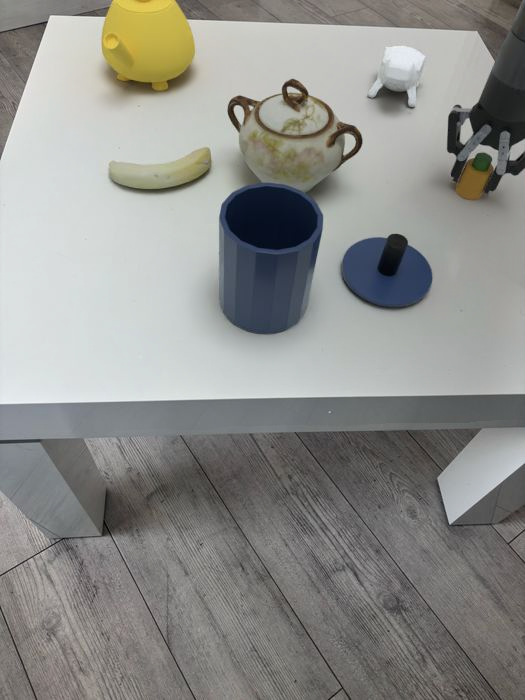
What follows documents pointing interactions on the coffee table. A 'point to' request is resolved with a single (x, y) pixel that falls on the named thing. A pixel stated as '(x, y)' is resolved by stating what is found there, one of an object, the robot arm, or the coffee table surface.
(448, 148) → the robot arm
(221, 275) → the pot
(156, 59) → the teapot
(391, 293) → the lid
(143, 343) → the coffee table surface
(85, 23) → the coffee table surface
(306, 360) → the coffee table surface
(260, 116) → the sugar bowl
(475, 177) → the yellow and green cylinder
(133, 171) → the fruit
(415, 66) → the white animal figurine
